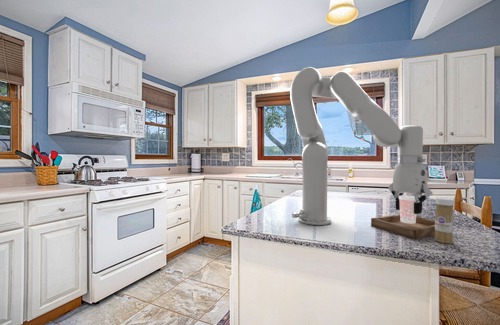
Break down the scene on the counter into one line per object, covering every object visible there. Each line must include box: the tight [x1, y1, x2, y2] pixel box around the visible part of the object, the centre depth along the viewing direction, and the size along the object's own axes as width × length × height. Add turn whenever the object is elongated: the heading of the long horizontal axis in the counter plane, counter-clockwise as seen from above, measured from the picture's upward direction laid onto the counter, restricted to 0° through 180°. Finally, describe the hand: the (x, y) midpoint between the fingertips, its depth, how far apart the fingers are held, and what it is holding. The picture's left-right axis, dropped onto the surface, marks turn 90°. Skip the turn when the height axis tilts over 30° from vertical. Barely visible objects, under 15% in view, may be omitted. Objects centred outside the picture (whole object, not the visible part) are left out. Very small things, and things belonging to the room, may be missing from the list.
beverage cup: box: [399, 193, 416, 224], centre depth 90 cm, size 6×6×14 cm
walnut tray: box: [370, 213, 435, 241], centre depth 90 cm, size 18×16×3 cm
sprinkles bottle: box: [433, 196, 455, 244], centre depth 78 cm, size 5×5×13 cm
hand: (408, 211), depth 90 cm, fingers closed on beverage cup, 6 cm apart
